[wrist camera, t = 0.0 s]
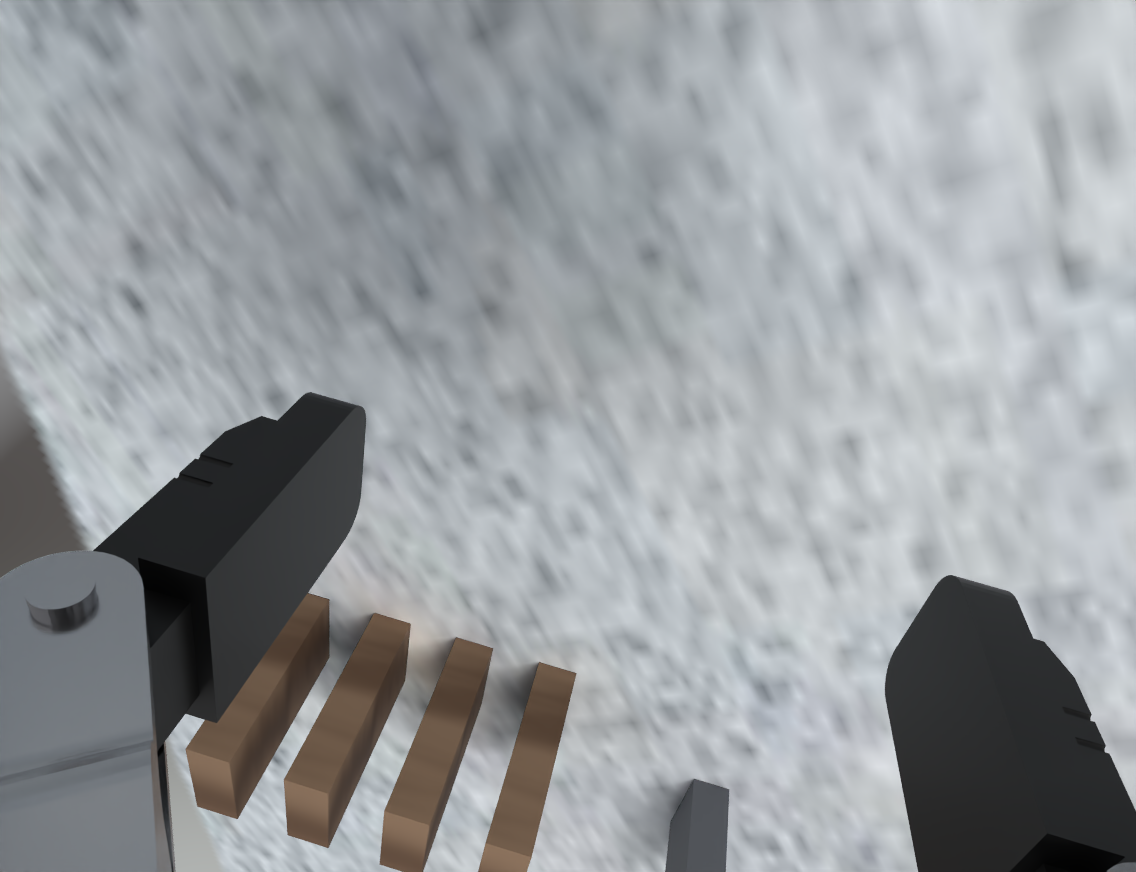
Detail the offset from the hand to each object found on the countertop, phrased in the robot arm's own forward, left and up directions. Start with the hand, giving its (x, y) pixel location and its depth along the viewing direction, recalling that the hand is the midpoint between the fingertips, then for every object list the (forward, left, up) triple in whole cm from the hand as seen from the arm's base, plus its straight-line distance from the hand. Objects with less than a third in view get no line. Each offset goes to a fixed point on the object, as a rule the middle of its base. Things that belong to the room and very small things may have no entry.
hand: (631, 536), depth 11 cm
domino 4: (+29, 0, -17) cm, 33 cm away
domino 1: (+29, -14, -17) cm, 36 cm away
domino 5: (+35, +10, -17) cm, 40 cm away
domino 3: (+29, -5, -17) cm, 34 cm away
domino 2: (+29, -9, -17) cm, 35 cm away
